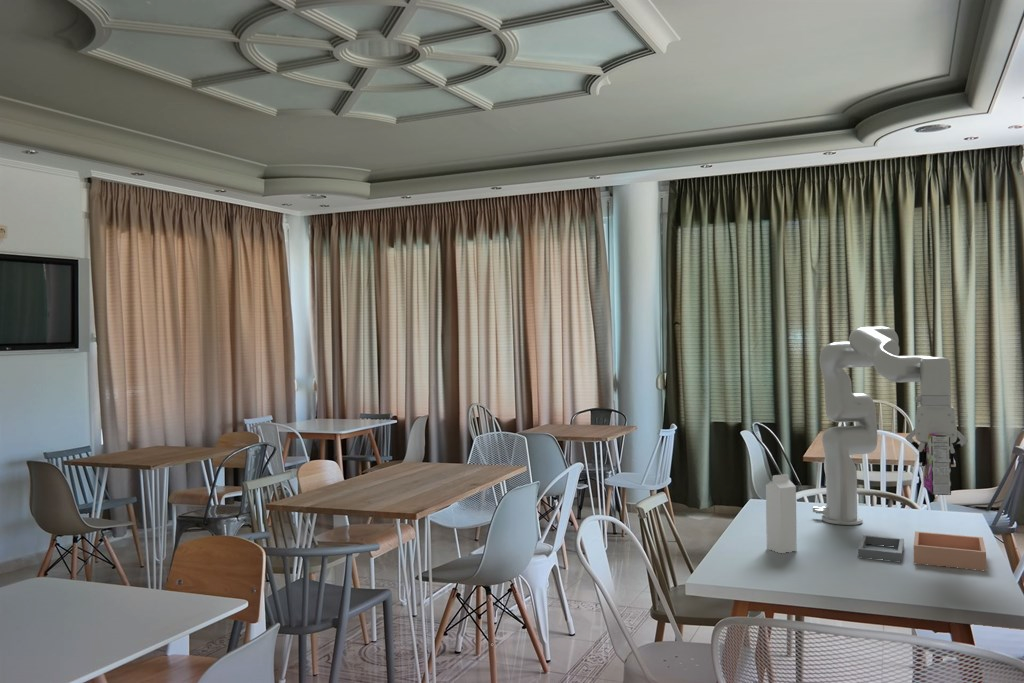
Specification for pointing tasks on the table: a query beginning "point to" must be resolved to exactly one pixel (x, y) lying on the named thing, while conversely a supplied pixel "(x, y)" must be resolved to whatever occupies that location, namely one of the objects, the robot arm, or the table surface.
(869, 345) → the robot arm
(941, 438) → the candy bar box
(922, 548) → the salmon hollow open box
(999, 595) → the table surface
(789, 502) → the milk
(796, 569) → the table surface
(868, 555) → the tray
